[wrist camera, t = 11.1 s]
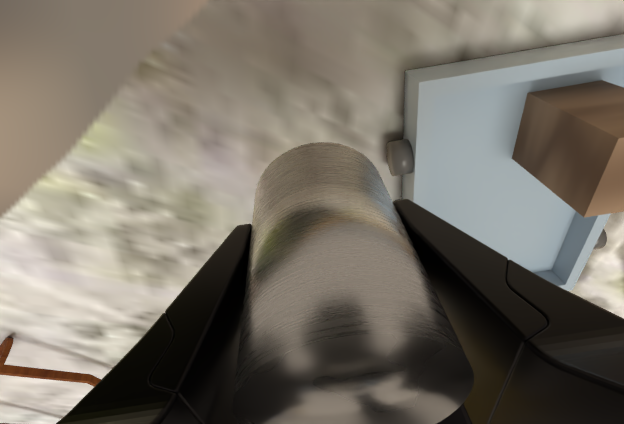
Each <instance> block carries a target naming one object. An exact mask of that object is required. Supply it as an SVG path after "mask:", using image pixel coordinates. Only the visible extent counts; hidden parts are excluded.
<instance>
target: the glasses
mask: <svg viewBox="0 0 624 424" xmlns="http://www.w3.org/2000/svg"><path fill="white" fill-rule="evenodd" d="M12 344H13V338H6V339H5V340H4V341H3V343H2V344H1V345H0V355H1V356H0V375H10V376H20V377H30V378H40V379H50V380H61V381H71V382H81V383H88V384H90V385H92V386H94V387H95V386H96V385H97V384H98V383H99V382H100V381H101V379H99V378H97V377H95V376H93V375H90V374H81V373H73V372H64V371H55V370H46V369H38V368H29V367H20V366H11V365H4V363H5V361H6V359H7V357H8V354H9V352H10V349H11V347H12ZM0 424H7V423H0Z"/></svg>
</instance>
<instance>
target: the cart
mask: <svg viewBox="0 0 624 424" xmlns="http://www.w3.org/2000/svg"><path fill="white" fill-rule="evenodd" d="M600 80H603V81H606V82H609V83H612V84H615V85H618V86H621V87H624V34H620V35H614V36H608V37H602V38H596V39H590V40H585V41H579V42H573V43H567V44H561V45H555V46H549V47H543V48H537V49H531V50H526V51H520V52H514V53H508V54H502V55H496V56H490V57H484V58H478V59H472V60H467V61H461V62H455V63H449V64H443V65H437V66H431V67H425V68H419V69H413V70H408V71H405V94H404V134H403V140H397V141H391V142H388V144H387V161H388V166H389V170H390V173H391V175H392V176H398V175H402V199H409V200H411V201H413V202H414V203H416V204H418V205H419V206H421V207H423V208H424V209H426V210H428V211H429V212H431V213H433V214H434V215H436V216H438V217H440V218H441V219H443V220H445V221H446V222H448V223H450V224H451V225H453V226H455V227H456V228H458V229H460V230H461V231H463V232H465V233H467V234H468V235H470V236H472V237H473V238H475V239H477V240H478V241H480V242H482V243H483V244H485V245H487V246H488V247H490V248H492V249H494V250H495V251H497V252H499V253H500V254H502V255H504V256H505V257H507V258H508V260H512V261H514V262H516V263H517V264H519V265H521V266H522V267H524V268H526V269H528V270H529V271H531V272H533V273H535V274H537V275H538V276H540V277H542V278H544V279H545V280H547V281H549V282H551V283H553V284H555V285H557V286H559V287H561V288H563V289H565V290H567V291H570V290H573V288H574V286H575V284H576V282H577V280H578V278H579V276H580V274H581V272H582V270H583V268H584V266H585V264H586V262H587V260H588V258H589V256H590V254H591V252H592V250H593V249H600V248H602V247H604V246H605V244H606V241H607V236H606V232H605V230H604V229H603V228H604V226H605V224H606V222H607V220H608V218H609V216H610V214H611V213H610V214H603V215H597V216H591V217H585V218H584V217H583V216H581V215H580V214H579V213H578V212H576V211H575V210H574V209H573V208H572V207H570V206H569V205H568V204H567V203H565V202H564V201H563V200H562V199H561V198H559V197H558V196H557V195H556V194H554V193H553V192H552V191H551V190H550V189H548V188H547V187H546V186H545V185H543V184H542V183H541V182H540V181H539V180H537V179H536V178H535V177H534V176H532V175H531V174H530V173H529V172H528V171H526V170H525V169H524V168H523V167H521V166H520V165H519V164H518V163H517V162H515V161H514V160H513V159H512V155H513V151H514V147H515V143H516V139H517V134H518V130H519V126H520V122H521V118H522V114H523V110H524V105H525V101H526V97H527V93H529V92H535V91H541V90H547V89H553V88H559V87H565V86H571V85H576V84H582V83H588V82H594V81H600Z"/></svg>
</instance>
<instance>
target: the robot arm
mask: <svg viewBox="0 0 624 424" xmlns="http://www.w3.org/2000/svg"><path fill="white" fill-rule="evenodd" d="M393 204H394V206H395V208H396V210H397V212H398V214H399V216H400V219H401V221H402V223H403V225H404V227H405V229H406V231H407V233H408V235H409V237H410V239H411V242H412V244H413V246H414V248H415V250H416V252H417V254H418V256H419V258H420V260H421V262H422V264H423V267H424V269H425V271H426V273H427V275H428V277H429V279H430V281H431V283H432V285H433V287H434V289H435V292H436V294H437V296H438V298H439V300H440V302H441V304H442V306H443V308H444V310H445V312H446V314H447V317H448V319H449V321H450V323H451V325H452V327H453V329H454V331H455V333H456V335H457V337H458V340H459V342H460V344H461V346H462V348H463V350H464V352H465V354H466V356H467V358H468V360H469V362H470V365H471V367H472V369H473V372H474V384H473V388H472V390H471V392H470V395H469V396H468V397H467V399H466V400H465V402H464V403H463V404H462V405H461V406H460V407H459V408H458V409H457V410H455V411H454V412H453V413H452V414H451V415H449V416H448V417H446V418H445V419H443V420H442V421H440V422H438V423H436V424H624V319H623V318H621V317H619V316H617V315H615V314H613V313H611V312H609V311H607V310H605V309H603V308H601V307H599V306H597V305H595V304H593V303H591V302H589V301H587V300H585V299H583V298H581V297H579V296H577V295H575V294H573V293H571V292H569V291H567V290H565V289H563V288H561V287H559V286H557V285H555V284H553V283H551V282H549V281H547V280H545V279H544V278H542V277H540V276H538V275H537V274H535V273H533V272H531V271H529V270H528V269H526V268H524V267H522V266H521V265H519V264H517V263H516V262H514V261H512V260H508V258H507V257H505V256H504V255H502V254H500V253H499V252H497V251H495V250H494V249H492V248H490V247H488V246H487V245H485V244H483V243H482V242H480V241H478V240H477V239H475V238H473V237H472V236H470V235H468V234H467V233H465V232H463V231H461V230H460V229H458V228H456V227H455V226H453V225H451V224H450V223H448V222H446V221H445V220H443V219H441V218H440V217H438V216H436V215H434V214H433V213H431V212H429V211H428V210H426V209H424V208H423V207H421V206H419V205H418V204H416V203H414V202H413V201H411V200H409V199H401V200H395V201H394V202H393ZM251 231H252V225H251V224H244V225H238V226H237V227H236V228H235V229H234V230H233V231H232V232H231V234H230V235H229V236H228V237H227V238H226V239H225V241H224V242H223V243H222V244H221V245H220V247H219V248H218V249H217V250H216V251H215V252H214V254H213V255H212V256H211V257H210V258H209V260H208V261H207V262H206V263H205V264H204V266H203V267H202V268H201V269H200V270H199V271H198V273H197V274H196V275H195V276H194V277H193V279H192V280H191V281H190V282H189V283H188V284H187V286H186V287H185V288H184V289H183V290H182V292H181V293H180V294H179V295H178V296H177V298H176V299H175V300H174V301H173V302H172V303H171V305H170V306H169V307H168V308H167V309H166V311H165V313H163V314H162V315H161V316H160V318H159V319H158V320H157V321H156V322H155V323H154V325H153V326H152V327H151V328H150V329H149V330H148V331H147V333H146V334H145V335H144V336H143V337H142V338H141V339H140V340H139V342H138V343H137V344H136V345H135V346H134V347H133V348H132V349H131V350H130V351H129V352H128V353H127V354H126V355H125V356H124V357H123V358H122V359H121V360H120V362H119V363H118V364H117V365H116V366H115V367H114V368H113V369H112V370H111V371H110V372H109V373H108V374H107V375H106V376H105V377H104V378H103V379H102V380H101V381H100V382H99V383H98V384H97V385H96V386H95V387H94V388H93V389H92V390H91V391H90V392H89V393H88V394H87V395H86V396H85V397H84V398H83V399H82V400H81V401H80V402H79V403H78V404H77V405H76V406H75V407H74V408H73V409H72V410H71V411H70V412H69V413H68V414H67V415H66V416H65V417H63V418H62V419H61V420H60V421H59V422H57V423H56V424H239V423H238V422H237V421H236V419H235V417H234V414H233V409H232V406H233V396H234V387H235V378H236V369H237V359H238V350H239V341H240V332H241V323H242V314H243V305H244V295H245V286H246V277H247V268H248V259H249V250H250V240H251Z"/></svg>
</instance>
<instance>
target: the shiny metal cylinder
mask: <svg viewBox="0 0 624 424" xmlns="http://www.w3.org/2000/svg"><path fill="white" fill-rule="evenodd" d="M473 384H474V372H473V369H472V367H471V365H470V362H469V360H468V358H467V356H466V354H465V352H464V350H463V348H462V346H461V344H460V342H459V340H458V337H457V335H456V333H455V331H454V329H453V327H452V325H451V323H450V321H449V319H448V317H447V314H446V312H445V310H444V308H443V306H442V304H441V302H440V300H439V298H438V296H437V294H436V292H435V289H434V287H433V285H432V283H431V281H430V279H429V277H428V275H427V273H426V271H425V269H424V267H423V264H422V262H421V260H420V258H419V256H418V254H417V252H416V250H415V248H414V246H413V244H412V242H411V239H410V237H409V235H408V233H407V231H406V229H405V227H404V225H403V223H402V221H401V219H400V216H399V214H398V212H397V210H396V208H395V206H394V204H393V202H392V200H391V198H390V196H389V194H388V191H387V189H386V187H385V185H384V183H383V181H382V179H381V177H380V175H379V173H378V171H377V169H376V168H375V166H374V165H373V164H372V162H371V161H370V160H369V159H368V158H367V157H365V156H364V155H363V154H361V153H360V152H358V151H356V150H355V149H352V148H350V147H348V146H344V145H341V144H336V143H325V142H319V143H310V144H306V145H301V146H299V147H296V148H293V149H291V150H289V151H287V152H285V153H283V154H282V155H281V156H279V157H278V158H276V159H275V160H274V161H273V162H272V163H271V164H270V165H269V166H268V167H267V168H266V170H265V171H264V173H263V174H262V176H261V178H260V180H259V182H258V185H257V189H256V195H255V204H254V213H253V222H252V231H251V240H250V250H249V259H248V268H247V277H246V286H245V295H244V305H243V314H242V323H241V332H240V341H239V350H238V359H237V369H236V378H235V387H234V396H233V406H232V409H233V414H234V417H235V419H236V421H237V422H238V423H239V424H436V423H438V422H440V421H442V420H443V419H445V418H446V417H448V416H449V415H451V414H452V413H453V412H454V411H455V410H457V409H458V408H459V407H460V406H461V405H462V404H463V403H464V402H465V400H466V399H467V397H468V396H469V395H470V392H471V390H472V388H473Z"/></svg>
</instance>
